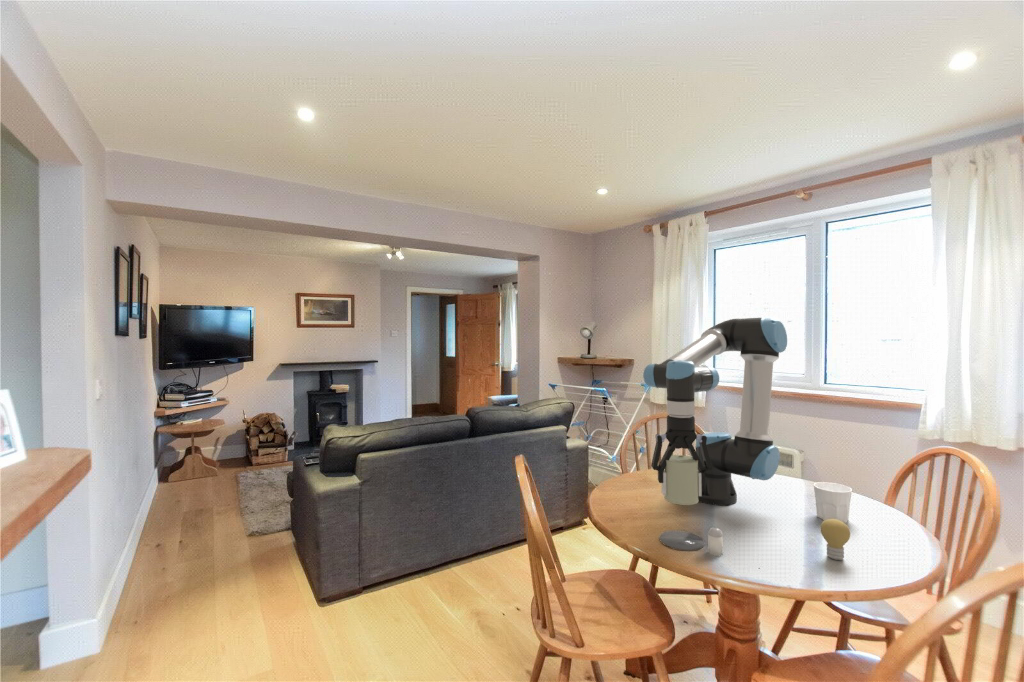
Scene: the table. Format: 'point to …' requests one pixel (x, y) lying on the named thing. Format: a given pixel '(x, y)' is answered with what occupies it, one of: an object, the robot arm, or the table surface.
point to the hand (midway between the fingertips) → (681, 494)
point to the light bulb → (835, 537)
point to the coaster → (682, 540)
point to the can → (682, 480)
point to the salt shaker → (715, 542)
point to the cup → (832, 501)
